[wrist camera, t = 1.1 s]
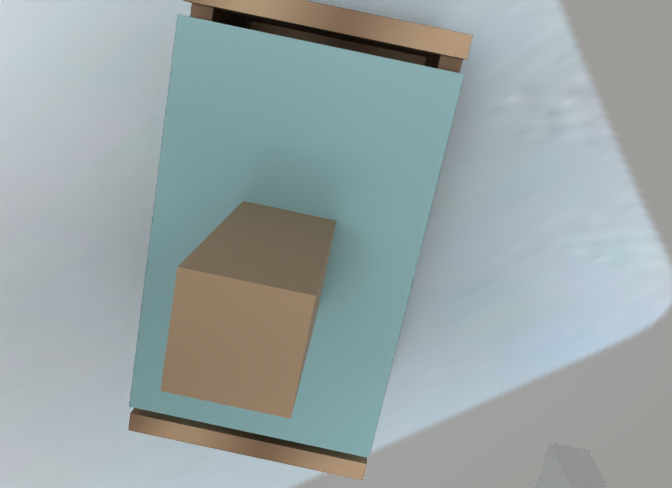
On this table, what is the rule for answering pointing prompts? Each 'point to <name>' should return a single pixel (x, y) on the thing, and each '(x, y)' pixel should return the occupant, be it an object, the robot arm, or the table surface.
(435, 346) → the table surface
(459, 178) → the table surface
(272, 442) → the box
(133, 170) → the table surface
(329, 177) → the lid
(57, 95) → the table surface
